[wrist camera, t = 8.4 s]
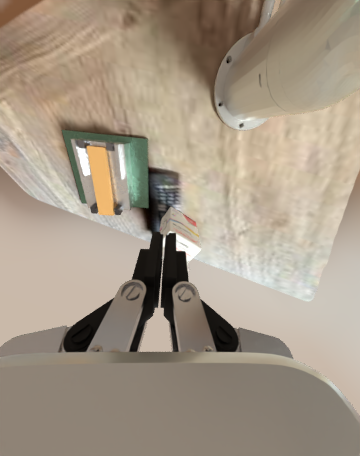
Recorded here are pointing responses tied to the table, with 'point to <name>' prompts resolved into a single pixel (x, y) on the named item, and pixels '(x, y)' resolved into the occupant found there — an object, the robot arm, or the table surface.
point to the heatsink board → (136, 163)
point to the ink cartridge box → (181, 233)
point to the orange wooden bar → (101, 179)
